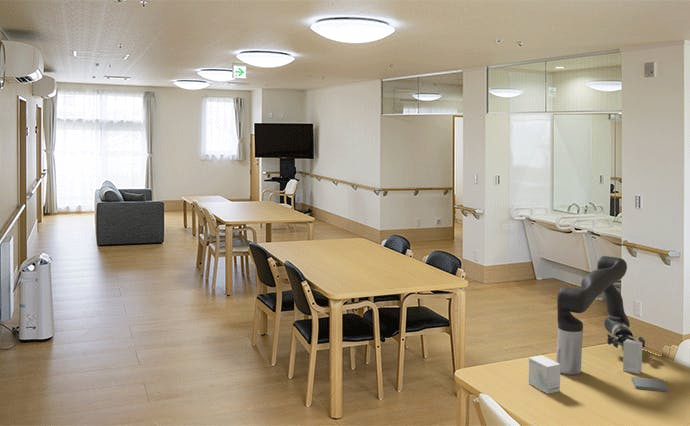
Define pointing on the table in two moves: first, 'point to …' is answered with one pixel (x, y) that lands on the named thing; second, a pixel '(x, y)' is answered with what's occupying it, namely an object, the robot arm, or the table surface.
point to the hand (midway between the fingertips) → (628, 346)
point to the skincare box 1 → (544, 374)
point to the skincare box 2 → (632, 356)
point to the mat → (649, 384)
